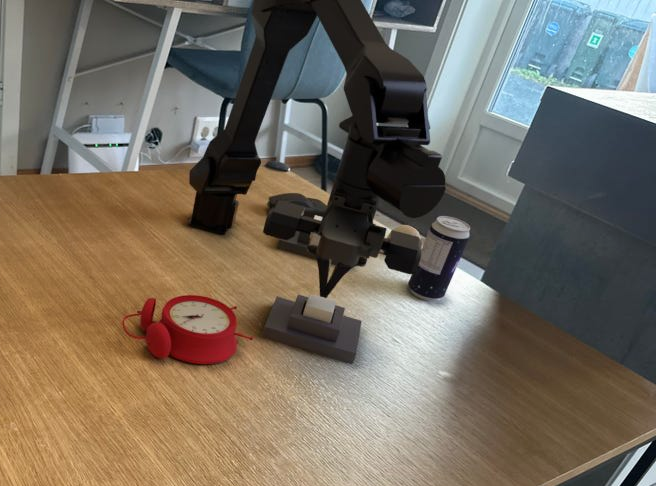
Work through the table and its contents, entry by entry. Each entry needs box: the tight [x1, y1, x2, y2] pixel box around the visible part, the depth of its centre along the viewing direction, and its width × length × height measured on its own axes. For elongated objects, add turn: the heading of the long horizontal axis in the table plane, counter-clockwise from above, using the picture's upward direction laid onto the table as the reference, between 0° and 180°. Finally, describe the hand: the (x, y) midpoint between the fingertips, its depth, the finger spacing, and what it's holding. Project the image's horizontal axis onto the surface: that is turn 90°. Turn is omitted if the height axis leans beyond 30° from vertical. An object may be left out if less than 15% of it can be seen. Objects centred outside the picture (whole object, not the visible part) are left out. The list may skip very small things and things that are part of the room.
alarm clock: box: [121, 294, 254, 365], centre depth 86 cm, size 10×6×15 cm
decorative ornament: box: [386, 224, 426, 245], centre depth 118 cm, size 4×8×5 cm, turn 32°
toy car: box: [266, 192, 327, 219], centre depth 127 cm, size 6×12×4 cm, turn 99°
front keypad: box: [261, 294, 363, 365], centre depth 93 cm, size 12×9×4 cm
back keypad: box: [276, 231, 337, 266], centre depth 116 cm, size 12×9×4 cm
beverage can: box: [407, 215, 471, 302], centre depth 106 cm, size 6×6×12 cm
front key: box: [303, 293, 337, 323], centre depth 92 cm, size 4×4×2 cm
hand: (323, 296), depth 91 cm, fingers closed
